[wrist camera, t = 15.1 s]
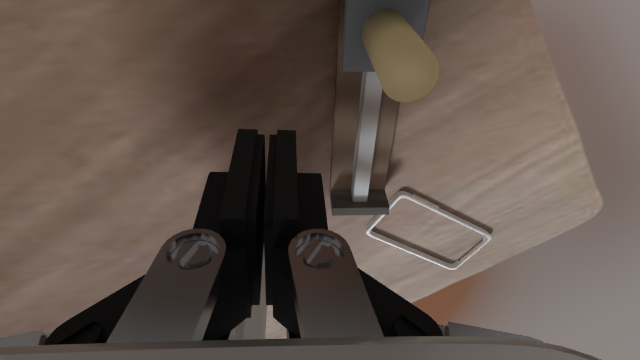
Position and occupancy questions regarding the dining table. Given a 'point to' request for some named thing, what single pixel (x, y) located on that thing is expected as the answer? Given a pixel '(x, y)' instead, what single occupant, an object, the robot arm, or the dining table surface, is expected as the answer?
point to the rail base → (360, 140)
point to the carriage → (390, 46)
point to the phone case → (415, 252)
